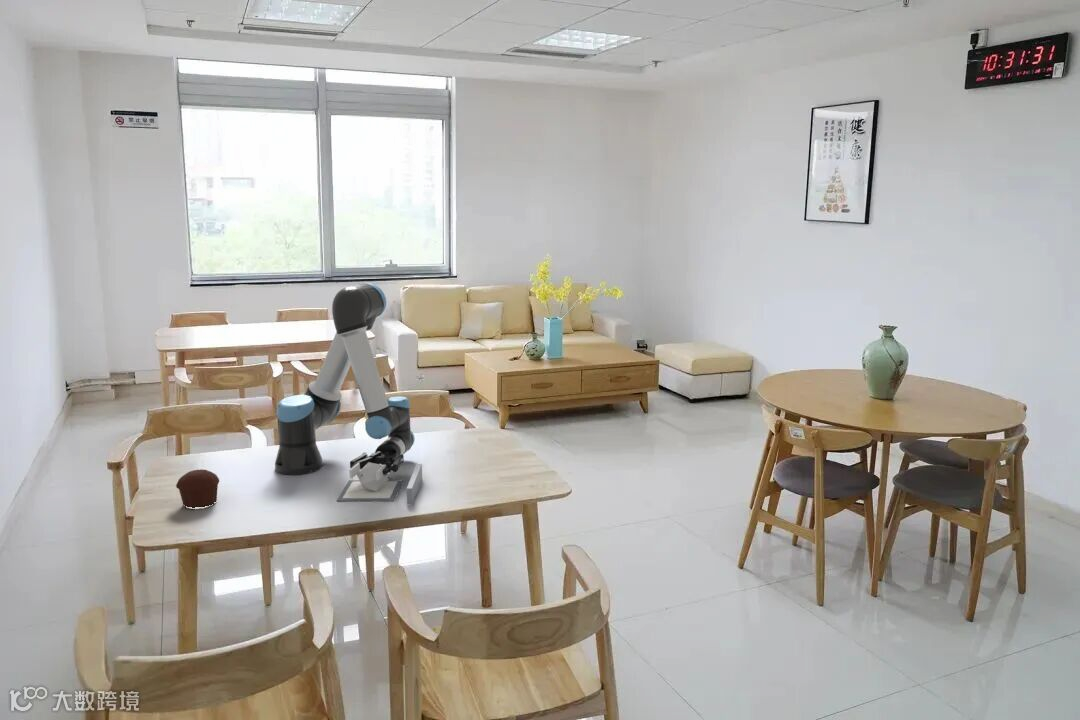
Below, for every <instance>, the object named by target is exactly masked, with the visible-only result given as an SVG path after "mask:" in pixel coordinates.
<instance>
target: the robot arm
mask: <svg viewBox="0 0 1080 720" xmlns="http://www.w3.org/2000/svg"><path fill="white" fill-rule="evenodd" d="M331 305H332V306H331V312H332V313H331V314H332V319H333V324H334V328H335V330H336V332H335V334H334V336H333V340H332V341H331V343H330V346H329V347H328V348H329V349H328V351H327V353H326V355H325V358H324V360H323V363H322V365H321V367H320V370H319V372H318V375H317V376H316V379H315V380H314V381H312V382H310V383H309V384H308V386H307V388H306V391H305V393H304V394H295V395H294V394H293V395H292V396H287V397H285V398H282V399H280V400H279V402H277V406H276V409H277V410H276V418H277V432H278V433H277V434H278V445H279V446H278V451H277V454H276V457H275V458H276V459H275V461H274V466H275V467H274V470H275V472H277V473H279V474H282V475H291V476H292V475H294V476H295V475H296V476H297V475H305V474H309V473H314V472H316V471H318V470H320V469H321V468H322V467H323V458H322V455H321V451H320V450H319V447H318V445H317V440H316V439H317V438H316V437H317V436H316V430H318V429H319V428H321V427H323V426H325V425H327V424H328V425H329V423H331V422H333V421H334V420H335V419H336V418H337V416H338V415H339V414H340V411H341V409H342V402H341V398H342V396H343V395H342V393H341V391H340V390H341V388H342V386H343V384H344V381H345V379H346V377H347V375H348V372H349V370H350V367H351V369H352V373H353V375H354V379H355V381H356V384H357V388H358V391H359V394H360V398H361V400H362V403H363V406H364V410H365V413H366V416H367V420H366V422H365V426H364V427H365V429H364V430H365V432H366V434H367V435H368V436H369V437H370V438H371V439H373V440H381V439H384V438H386V437H387V436H388V438H386V439H385V440H384V441H383V442H381V443H380V445H378V446H377V448H376V449H375V451H374V452H372V453H371V454H368V453H367V452H366V451H365V452H362V453H361V454H360V455H359V456H357V457H355V458H353V459H352V460H350V461H349V470H348V473H349V475H348V476H349V477H348V478H349V480H352V479H354V477H356V476H357V473H358V472H359V471H360V470H361V469H362V468H363V467H364V466H365V465H366V464H367V463H368V462H370V463H375V464H380V465H382V467H380V468H379V469H378V470H377V471H376V480H380V479H381V478H382V477H383V476H384V475H386V476H387V475H388V474H389V473H392V472H393V473H397V472H398V471H399V469H400V466H401V465H403V464H404V463H405V459H404V458H405V457H404V455H405V454H406V453H407V452H409V450H411V448H412V447H413V445H414V443H415V435H414V433H413V432H412V429H411V405H410V399H409V398H408V397H406V396H390V397H388V398H387V395H386V392H385V389H384V386H383V381H382V379H381V375H380V372H379V369H378V367H377V364H376V363H377V362H376V360H375V356H374V354H373V350H372V347H371V344H370V341H369V338H368V335H367V332H368V331H371V330H372V329H373V327H374V324H375V322H376V320H377V317H380V316H381V315H382V314H383V312H384V311H385V309H386V308H387V298H386V296H385V293H384V291H383V289H382V288H380V287H379V286H378V285H376V284H374V283H370V282H369V283H368V282H367V283H366V282H365V283H364V282H363V283H358V284H356V285H352V286H347V287H346V286H345V287H344V288H342V289H340V290H339V291H338V292H337V293H336V294H335V296H334V298H333V300H332V304H331Z"/></svg>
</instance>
